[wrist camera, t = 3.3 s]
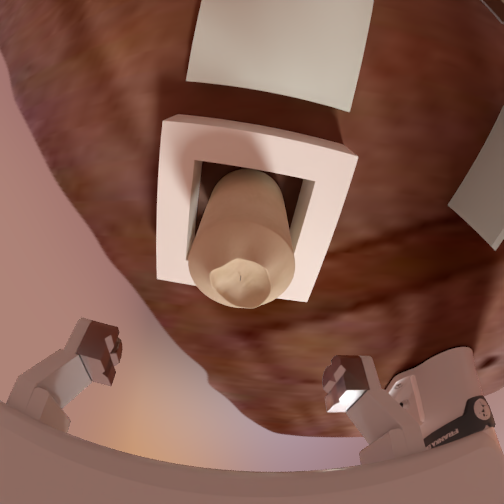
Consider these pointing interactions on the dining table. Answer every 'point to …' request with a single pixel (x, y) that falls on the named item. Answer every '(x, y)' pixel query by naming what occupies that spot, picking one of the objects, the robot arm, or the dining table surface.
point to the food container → (495, 8)
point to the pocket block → (255, 157)
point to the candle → (243, 242)
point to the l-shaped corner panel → (485, 189)
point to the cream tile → (283, 47)
